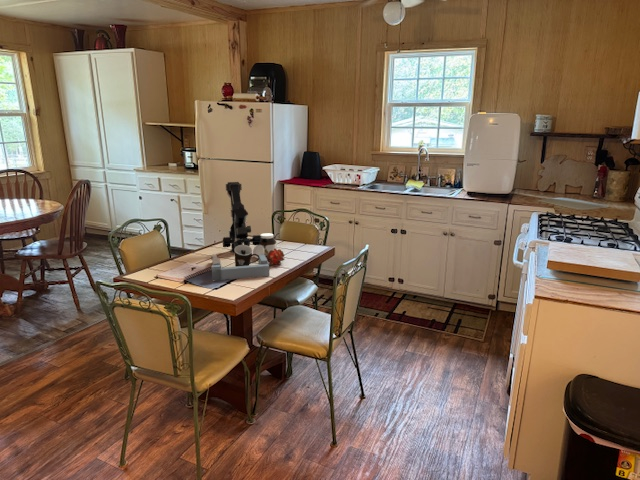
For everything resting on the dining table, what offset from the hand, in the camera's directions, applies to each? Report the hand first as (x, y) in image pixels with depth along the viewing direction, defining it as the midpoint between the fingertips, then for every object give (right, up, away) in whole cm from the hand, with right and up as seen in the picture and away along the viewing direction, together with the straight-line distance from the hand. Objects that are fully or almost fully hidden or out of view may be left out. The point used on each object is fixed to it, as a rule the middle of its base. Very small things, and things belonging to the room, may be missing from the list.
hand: (243, 256), depth 218 cm
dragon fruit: (+14, -5, +9) cm, 18 cm away
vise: (-1, -8, -6) cm, 10 cm away
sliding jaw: (-14, -6, +1) cm, 15 cm away
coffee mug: (0, -6, +1) cm, 6 cm away
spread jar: (+8, -1, +23) cm, 24 cm away
